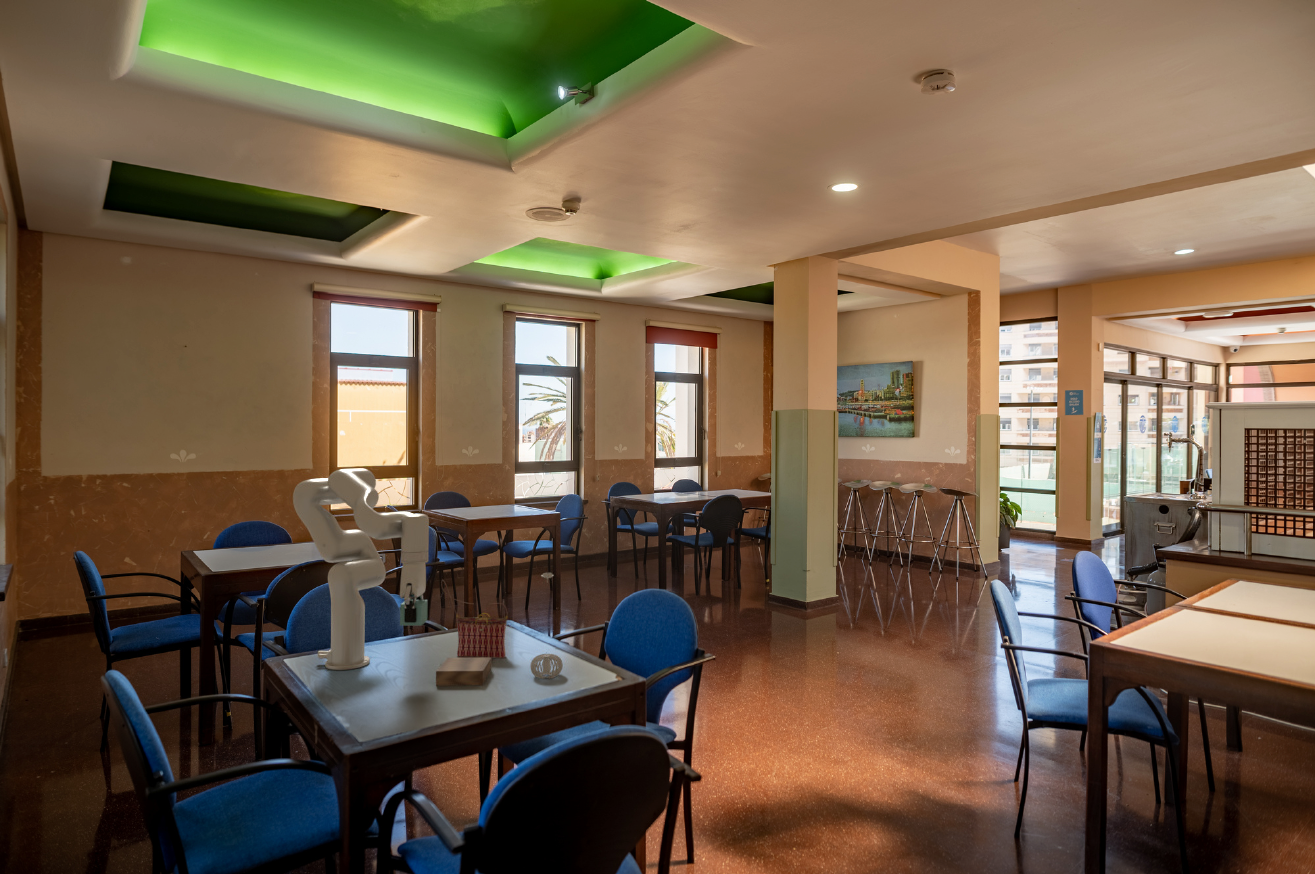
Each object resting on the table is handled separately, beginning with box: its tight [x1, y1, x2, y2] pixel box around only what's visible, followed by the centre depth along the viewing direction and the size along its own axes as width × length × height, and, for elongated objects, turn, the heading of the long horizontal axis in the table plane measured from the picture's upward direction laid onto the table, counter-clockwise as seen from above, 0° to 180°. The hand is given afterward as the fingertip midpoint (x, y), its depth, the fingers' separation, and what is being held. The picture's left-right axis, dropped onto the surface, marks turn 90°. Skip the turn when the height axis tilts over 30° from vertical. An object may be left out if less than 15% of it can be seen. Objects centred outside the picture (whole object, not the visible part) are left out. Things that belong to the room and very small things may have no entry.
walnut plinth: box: [435, 657, 492, 687], centre depth 212 cm, size 13×13×4 cm
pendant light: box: [530, 572, 564, 680], centre depth 214 cm, size 9×9×30 cm
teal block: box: [399, 599, 428, 627], centre depth 212 cm, size 6×6×6 cm
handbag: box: [440, 579, 509, 659], centre depth 232 cm, size 7×21×25 cm, turn 84°
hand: (413, 618), depth 211 cm, fingers closed on teal block, 6 cm apart
